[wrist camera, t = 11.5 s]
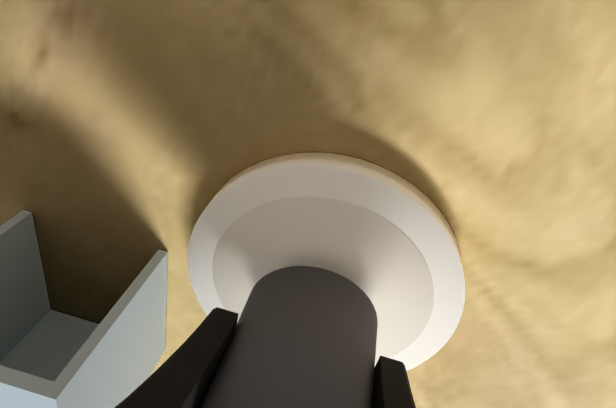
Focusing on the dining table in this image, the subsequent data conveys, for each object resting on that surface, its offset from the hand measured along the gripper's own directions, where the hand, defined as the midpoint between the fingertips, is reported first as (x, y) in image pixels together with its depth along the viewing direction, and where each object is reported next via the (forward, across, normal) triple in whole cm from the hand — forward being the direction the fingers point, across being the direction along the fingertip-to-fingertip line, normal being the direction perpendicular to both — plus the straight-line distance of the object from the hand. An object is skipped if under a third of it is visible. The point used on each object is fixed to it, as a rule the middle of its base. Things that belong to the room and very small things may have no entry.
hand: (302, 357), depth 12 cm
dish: (+4, 0, 0) cm, 4 cm away
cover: (+4, +8, +4) cm, 10 cm away
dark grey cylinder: (+2, 0, 0) cm, 2 cm away
